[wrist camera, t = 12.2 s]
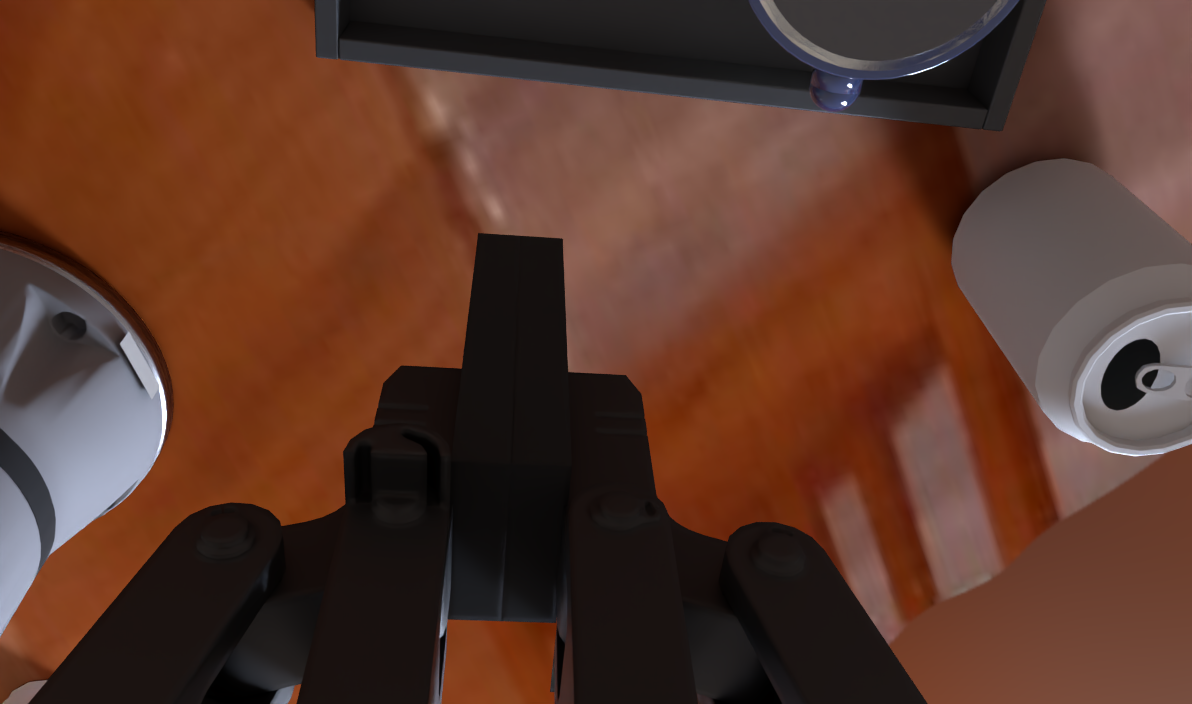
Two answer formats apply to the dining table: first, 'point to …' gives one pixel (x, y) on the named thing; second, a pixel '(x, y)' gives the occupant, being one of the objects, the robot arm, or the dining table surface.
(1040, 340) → the can
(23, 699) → the foam cup
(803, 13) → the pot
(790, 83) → the tray
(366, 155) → the dining table surface
